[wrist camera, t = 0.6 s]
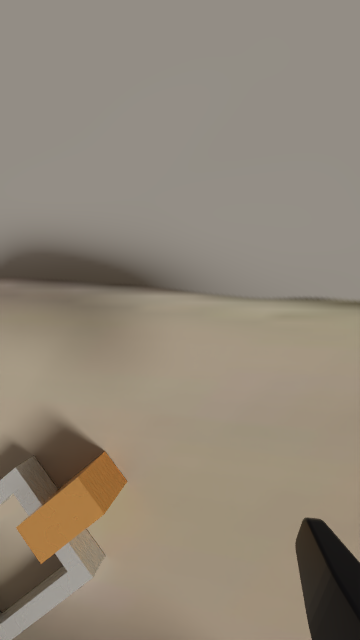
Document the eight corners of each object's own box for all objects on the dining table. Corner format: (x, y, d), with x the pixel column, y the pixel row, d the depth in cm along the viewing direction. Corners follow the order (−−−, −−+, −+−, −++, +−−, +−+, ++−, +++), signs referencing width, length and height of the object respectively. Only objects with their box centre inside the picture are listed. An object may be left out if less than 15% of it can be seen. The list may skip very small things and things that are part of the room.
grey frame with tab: (-1, 637, 24) (-47, 698, 20) (-64, 538, 25) (-121, 578, 21) (154, 517, 22) (136, 558, 18) (79, 416, 23) (47, 435, 19)
